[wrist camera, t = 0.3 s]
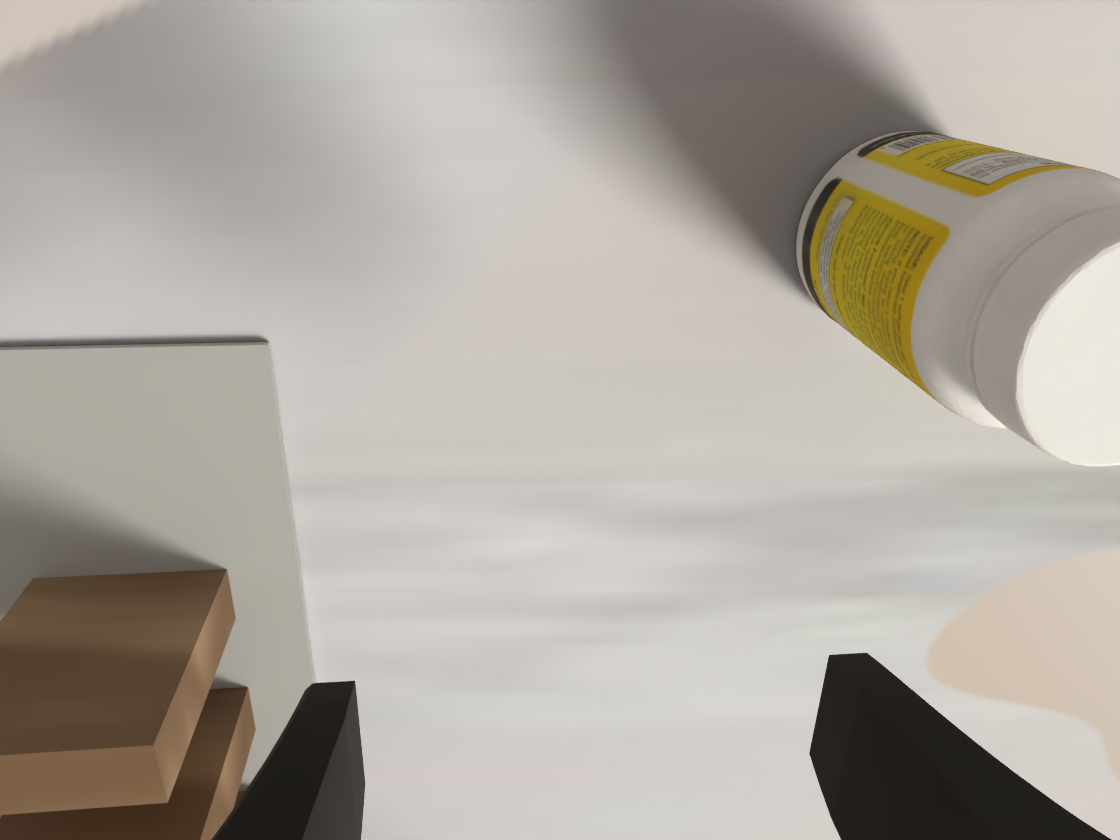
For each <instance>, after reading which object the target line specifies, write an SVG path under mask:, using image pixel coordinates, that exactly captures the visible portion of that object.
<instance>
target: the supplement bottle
mask: <svg viewBox="0 0 1120 840" xmlns="http://www.w3.org/2000/svg"><path fill="white" fill-rule="evenodd" d="M796 255H797V263H798V268H799V272H800V276H801V279H802V281H803V283H804V286H805V288H806V290H807V291H808V293H809V295H810V296H811V298H812V299H813V301H814V302H815V303H816V304H817V306H818V307H819V308H820V309H822V310H823V311H824V312H825V313H826V314H827V315H828V316H829V317H830V318H831V319H833V320H834V321H835V322H837V323H838V324H839V325H841V326H842V327H843V328H844V329H846V330H847V331H848V332H849V333H851V334H852V335H853V336H854V337H856V338H857V339H858V340H860V341H861V342H862V343H863V344H865V345H866V346H867V347H868V348H870V349H871V350H872V351H873V352H875V353H876V354H878V355H879V356H880V357H881V358H883V359H884V360H885V361H886V362H888V363H889V364H890V365H892V366H893V367H894V368H895V369H897V370H898V371H899V372H900V373H902V374H903V375H904V376H905V377H907V378H908V379H909V380H911V381H912V382H913V383H915V384H916V385H917V386H918V387H920V388H921V389H922V390H924V391H925V392H926V393H927V394H929V395H930V396H931V397H932V398H934V399H935V400H936V401H938V402H939V403H940V404H942V405H943V406H944V407H945V408H947V409H948V410H950V411H952V412H953V413H955V414H957V415H959V416H961V417H963V418H965V419H967V420H970V421H972V422H975V423H978V424H982V425H986V426H991V427H997V428H1008V429H1010V430H1011V431H1013V432H1015V433H1016V434H1018V435H1019V436H1021V437H1022V438H1024V439H1025V440H1027V441H1028V442H1030V443H1031V444H1033V445H1034V446H1036V447H1037V448H1039V449H1040V450H1042V451H1044V452H1045V453H1047V454H1049V455H1051V456H1053V457H1055V458H1057V459H1060V460H1063V461H1065V462H1068V463H1072V464H1076V465H1084V466H1112V465H1119V464H1120V179H1118V178H1116V177H1114V176H1111V175H1109V174H1106V173H1103V172H1100V171H1096V170H1092V169H1088V168H1084V167H1078V166H1074V165H1069V164H1065V163H1061V162H1056V161H1052V160H1048V159H1043V158H1039V157H1035V156H1030V155H1026V154H1022V153H1018V152H1014V151H1008V150H1004V149H1000V148H996V147H992V146H987V145H983V144H979V143H974V142H970V141H966V140H961V139H956V138H952V137H948V136H945V135H940V134H936V133H931V132H922V131H903V132H895V133H890V134H886V135H882V136H879V137H877V138H874V139H872V140H869V141H867V142H865V143H863V144H861V145H859V146H858V147H856V148H855V149H853V150H851V151H850V152H849V153H847V154H846V155H845V156H843V157H842V158H841V159H840V160H839V161H838V162H837V163H836V164H835V165H834V166H833V167H832V168H831V169H830V170H829V171H828V172H827V173H826V175H825V176H824V177H823V178H822V180H821V181H820V182H819V184H818V185H817V186H816V188H815V190H814V191H813V193H812V195H811V196H810V198H809V200H808V202H807V204H806V206H805V209H804V211H803V213H802V216H801V219H800V223H799V228H798V233H797V242H796Z"/></svg>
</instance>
